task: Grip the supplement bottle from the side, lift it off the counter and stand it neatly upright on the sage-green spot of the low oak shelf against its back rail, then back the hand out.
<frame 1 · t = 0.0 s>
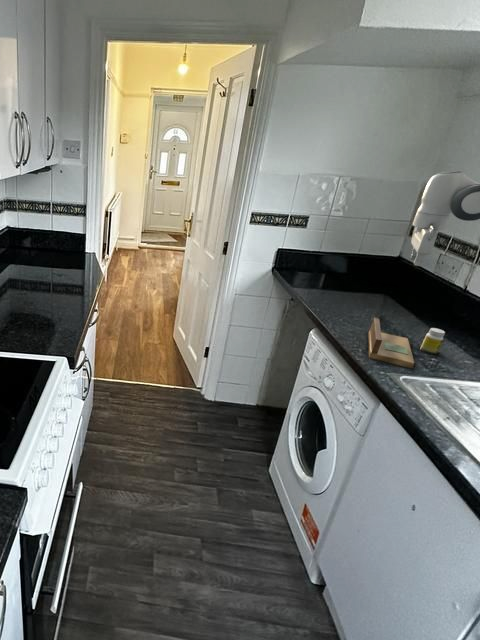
hand: (414, 262, 144), 28 cm above the counter, tool pointing down, fingers open, 8 cm apart
supplement bottle: (427, 352, 143), on the counter
oak shelf: (388, 350, 143), on the counter
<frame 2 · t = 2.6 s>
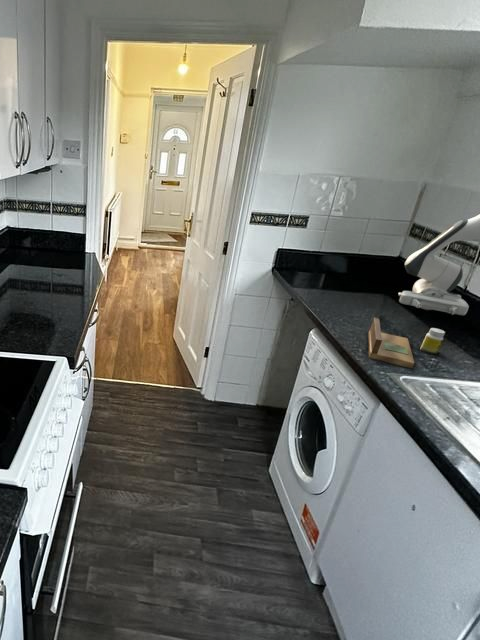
hand: (435, 309, 148), 12 cm above the counter, tool horizontal, fingers open, 8 cm apart
nothing on the counter moved.
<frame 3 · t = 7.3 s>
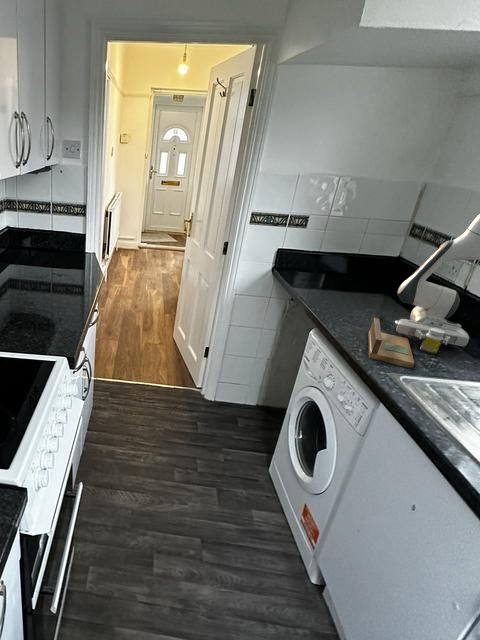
hand: (434, 340, 140), 5 cm above the counter, tool horizontal, fingers closed on supplement bottle, 5 cm apart
supplement bottle: (427, 352, 143), on the counter, touching gripper
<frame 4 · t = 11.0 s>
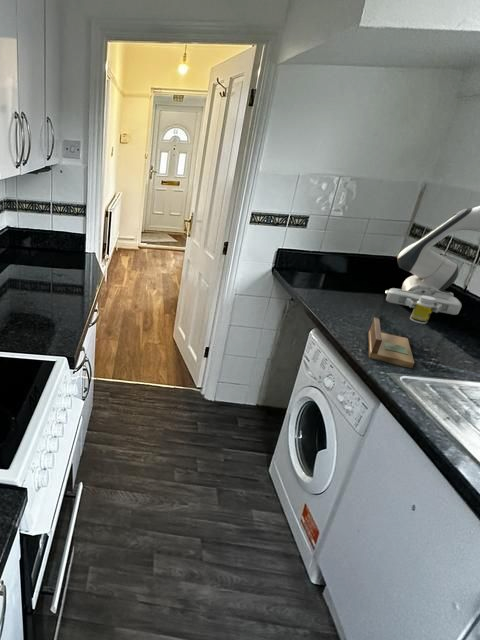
hand: (424, 308, 134), 17 cm above the counter, tool horizontal, fingers closed on supplement bottle, 5 cm apart
supplement bottle: (417, 321, 137), point 12 cm above the counter, touching gripper
when the fingers open (7 cm above the counter, at t = 14.9 s): supplement bottle stays where it is, resting on oak shelf.
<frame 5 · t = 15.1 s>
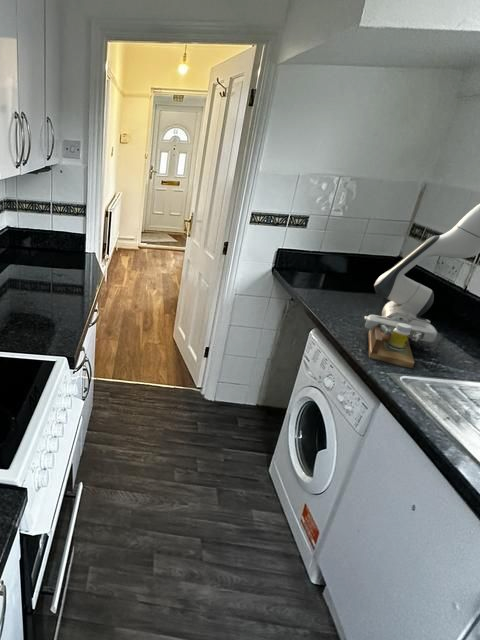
hand: (401, 336, 137), 7 cm above the counter, tool horizontal, fingers open, 6 cm apart
supplement bottle: (394, 348, 140), point 2 cm above the counter, touching oak shelf
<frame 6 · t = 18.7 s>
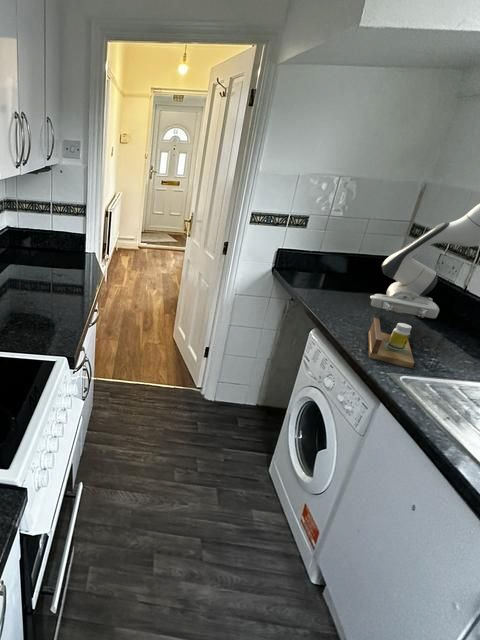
hand: (405, 312, 146), 11 cm above the counter, tool horizontal, fingers open, 8 cm apart
nothing on the counter moved.
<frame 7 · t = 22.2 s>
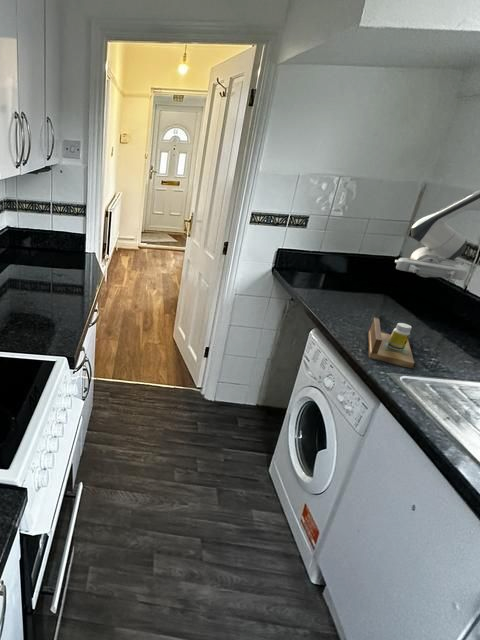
hand: (432, 273, 144), 25 cm above the counter, tool horizontal, fingers open, 8 cm apart
nothing on the counter moved.
at the end: supplement bottle inside the target area (0.1 cm from its centre), point 2.0 cm above the counter; supplement bottle tilted 0°; the gripper is holding nothing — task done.
